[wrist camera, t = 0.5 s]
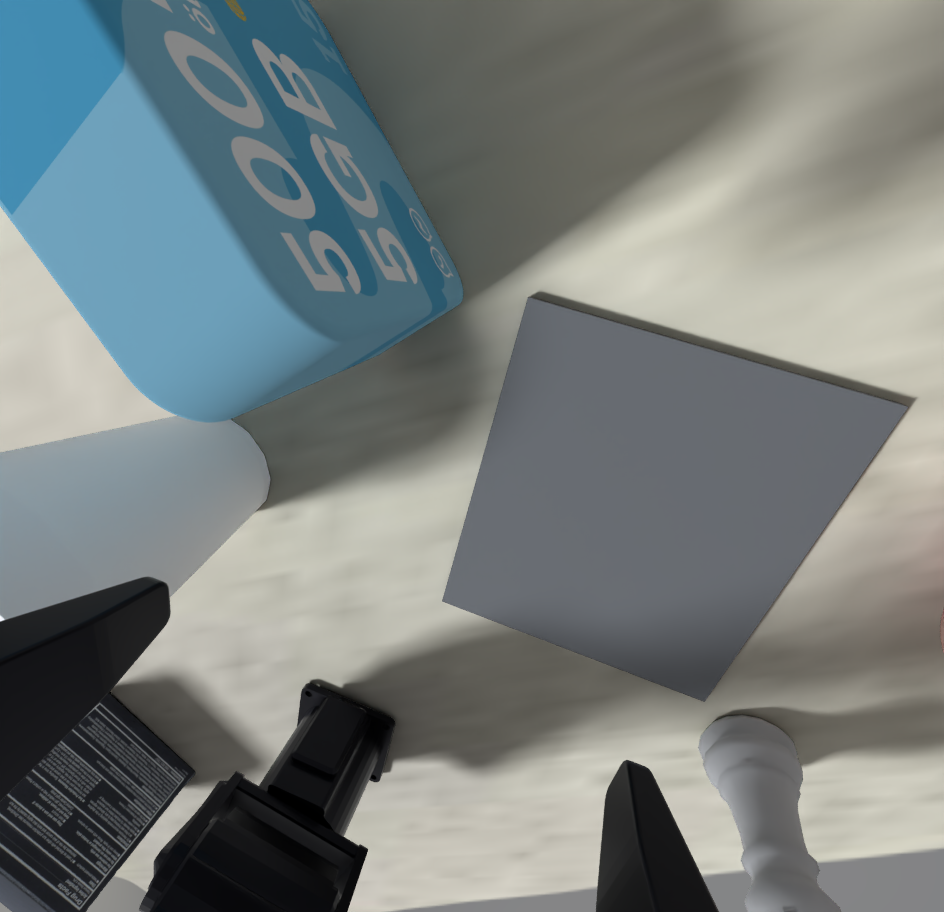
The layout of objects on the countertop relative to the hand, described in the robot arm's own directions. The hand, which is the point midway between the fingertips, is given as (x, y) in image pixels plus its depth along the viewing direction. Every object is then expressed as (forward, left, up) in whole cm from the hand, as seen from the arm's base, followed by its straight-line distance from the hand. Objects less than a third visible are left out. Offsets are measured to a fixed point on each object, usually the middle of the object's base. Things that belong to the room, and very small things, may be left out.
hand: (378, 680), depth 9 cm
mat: (-2, -6, -14) cm, 15 cm away
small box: (-37, +23, -14) cm, 46 cm away
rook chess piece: (-12, -16, -14) cm, 25 cm away
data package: (+8, +9, -14) cm, 18 cm away
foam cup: (-7, +15, -14) cm, 22 cm away
